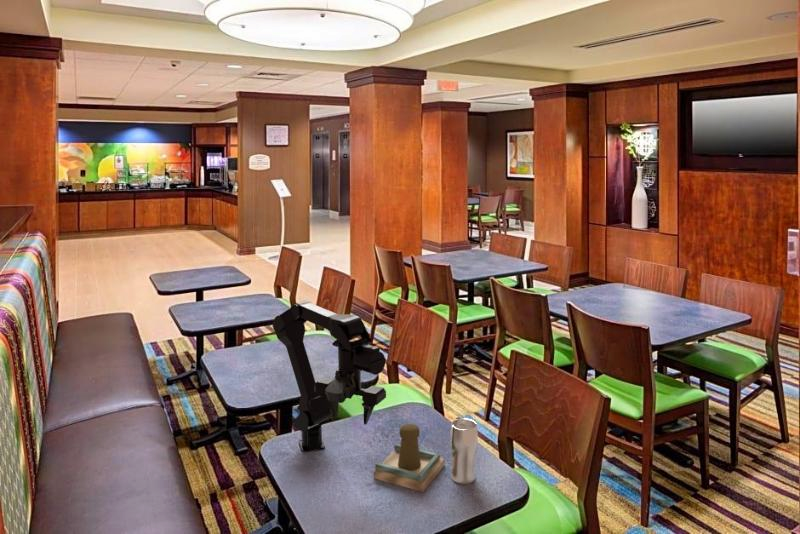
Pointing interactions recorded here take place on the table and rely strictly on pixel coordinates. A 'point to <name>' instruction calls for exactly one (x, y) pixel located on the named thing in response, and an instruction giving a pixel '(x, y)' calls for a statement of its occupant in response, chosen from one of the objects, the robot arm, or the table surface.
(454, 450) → the silver metal tumbler
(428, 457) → the dock
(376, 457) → the table surface
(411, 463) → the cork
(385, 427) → the table surface
